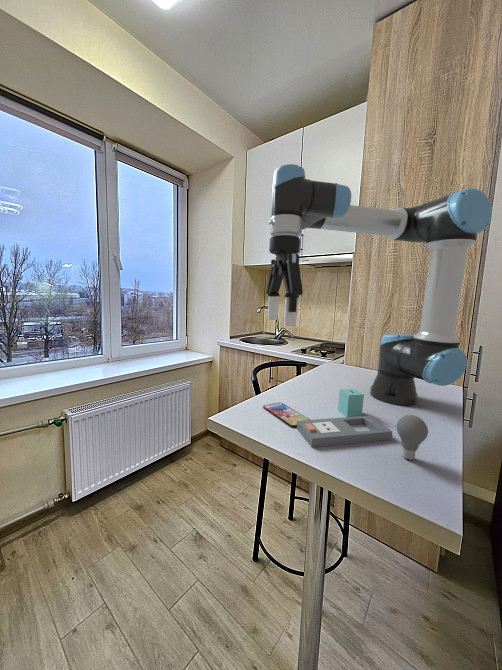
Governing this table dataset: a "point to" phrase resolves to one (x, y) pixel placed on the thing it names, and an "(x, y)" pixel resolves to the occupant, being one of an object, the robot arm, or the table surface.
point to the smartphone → (285, 414)
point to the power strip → (342, 431)
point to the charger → (350, 402)
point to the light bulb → (411, 434)
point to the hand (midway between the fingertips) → (280, 322)
